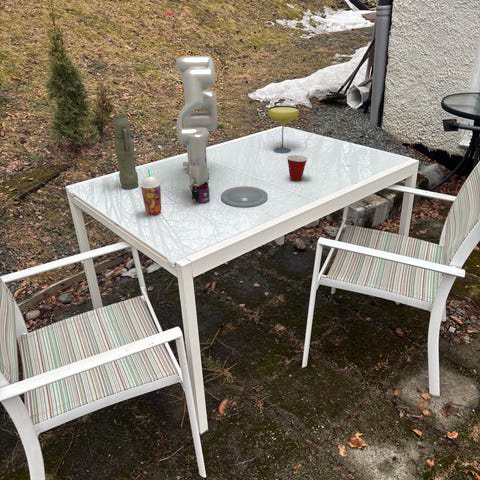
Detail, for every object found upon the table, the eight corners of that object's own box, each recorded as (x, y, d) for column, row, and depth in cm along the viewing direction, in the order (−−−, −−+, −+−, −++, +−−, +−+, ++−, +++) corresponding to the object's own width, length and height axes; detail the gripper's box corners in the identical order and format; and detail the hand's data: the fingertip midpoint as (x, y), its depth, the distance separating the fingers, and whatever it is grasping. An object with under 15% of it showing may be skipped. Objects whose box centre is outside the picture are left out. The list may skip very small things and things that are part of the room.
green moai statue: (132, 180, 228) (123, 112, 211) (143, 187, 220) (134, 117, 203) (116, 184, 224) (105, 115, 206) (126, 191, 215) (116, 120, 198)
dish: (212, 202, 203) (212, 200, 203) (233, 185, 221) (233, 183, 220) (256, 210, 195) (256, 208, 194) (274, 192, 212) (274, 190, 212)
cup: (199, 204, 201) (198, 191, 198) (189, 197, 209) (188, 184, 205) (212, 201, 205) (211, 187, 201) (201, 194, 212) (201, 181, 209)
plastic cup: (310, 178, 228) (312, 156, 222) (298, 184, 221) (299, 162, 215) (294, 174, 234) (295, 152, 228) (281, 179, 227) (282, 157, 221)
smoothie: (145, 209, 198) (139, 167, 188) (163, 208, 198) (159, 166, 189) (143, 217, 191) (137, 173, 181) (162, 216, 191) (157, 173, 181)
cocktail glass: (265, 146, 276) (266, 106, 264) (293, 145, 278) (295, 105, 265) (270, 155, 260) (271, 113, 248) (299, 154, 262) (302, 112, 250)
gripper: (200, 153, 205) (202, 187, 214) (181, 165, 192) (184, 201, 200) (214, 155, 203) (216, 189, 211) (196, 167, 189) (198, 203, 197)
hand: (200, 195), depth 206 cm, fingers open, 9 cm apart
